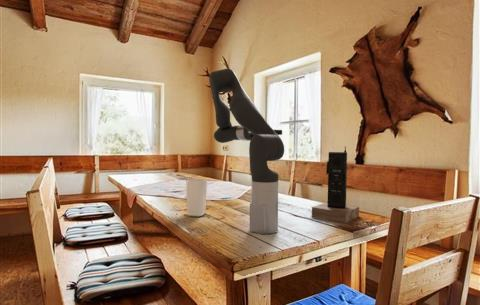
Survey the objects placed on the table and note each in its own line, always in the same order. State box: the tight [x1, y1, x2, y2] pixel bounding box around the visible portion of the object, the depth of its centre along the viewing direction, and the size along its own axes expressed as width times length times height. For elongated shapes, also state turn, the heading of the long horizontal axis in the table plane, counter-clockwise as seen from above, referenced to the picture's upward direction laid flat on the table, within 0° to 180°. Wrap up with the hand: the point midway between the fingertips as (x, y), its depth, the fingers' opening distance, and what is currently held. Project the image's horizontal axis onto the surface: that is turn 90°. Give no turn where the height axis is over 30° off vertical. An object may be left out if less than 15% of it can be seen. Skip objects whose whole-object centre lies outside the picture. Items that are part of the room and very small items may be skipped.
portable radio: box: [325, 145, 348, 209], centre depth 123 cm, size 8×6×25 cm
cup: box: [185, 178, 208, 218], centre depth 123 cm, size 7×7×15 cm
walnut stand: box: [311, 201, 360, 224], centre depth 123 cm, size 14×14×4 cm
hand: (276, 132), depth 130 cm, fingers open, 8 cm apart
